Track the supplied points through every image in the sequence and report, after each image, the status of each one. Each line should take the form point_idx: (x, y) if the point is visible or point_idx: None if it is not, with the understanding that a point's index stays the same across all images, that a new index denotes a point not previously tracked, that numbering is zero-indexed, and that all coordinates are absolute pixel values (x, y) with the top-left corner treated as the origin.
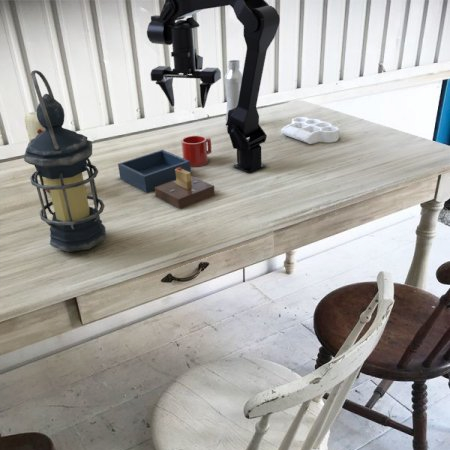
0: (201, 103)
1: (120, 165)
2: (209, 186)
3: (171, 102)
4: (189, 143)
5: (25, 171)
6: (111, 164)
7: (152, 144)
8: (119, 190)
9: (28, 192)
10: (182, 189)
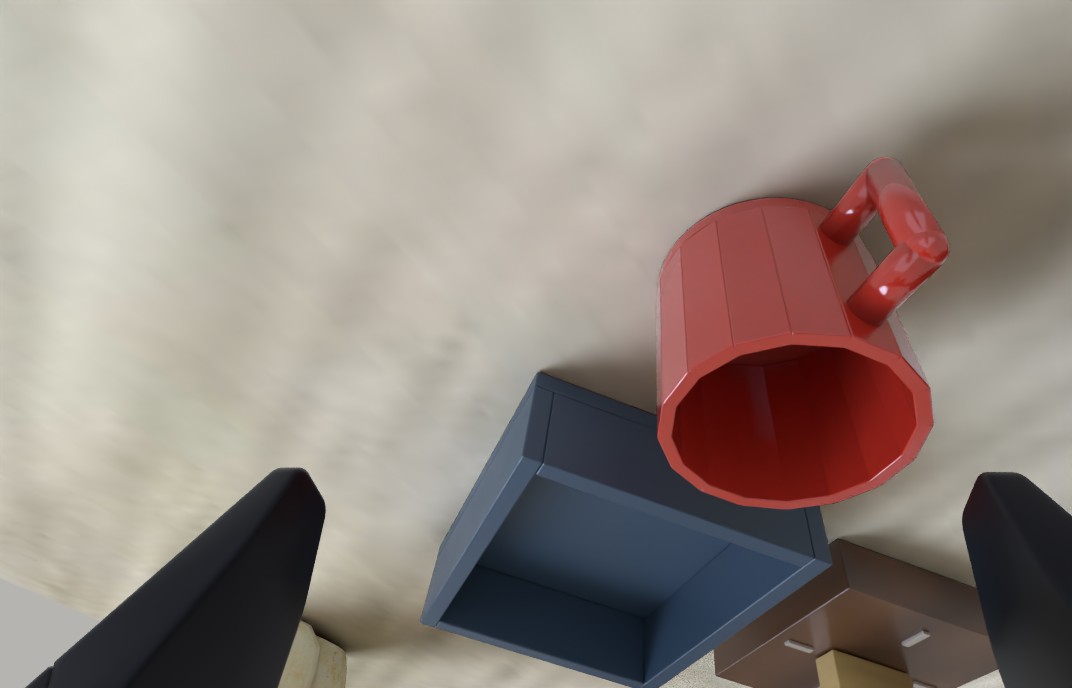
0: (1004, 649)
1: (445, 628)
2: None
3: (299, 593)
4: (778, 503)
5: (8, 547)
6: (239, 433)
7: (103, 11)
8: None
9: None
10: None
